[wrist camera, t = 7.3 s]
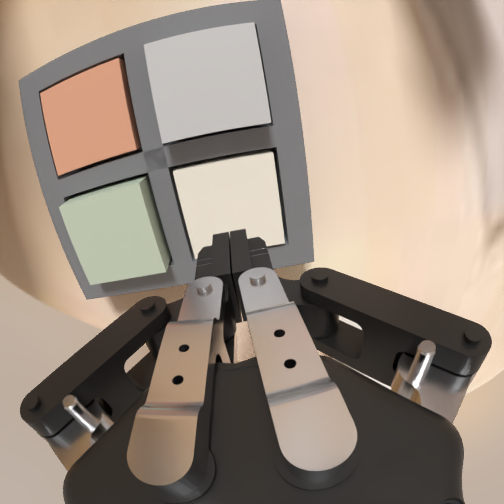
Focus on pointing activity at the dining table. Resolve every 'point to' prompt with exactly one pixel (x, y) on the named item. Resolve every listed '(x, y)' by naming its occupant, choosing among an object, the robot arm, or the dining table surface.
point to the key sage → (117, 231)
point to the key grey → (207, 81)
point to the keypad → (180, 151)
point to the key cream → (230, 197)
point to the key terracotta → (90, 117)
